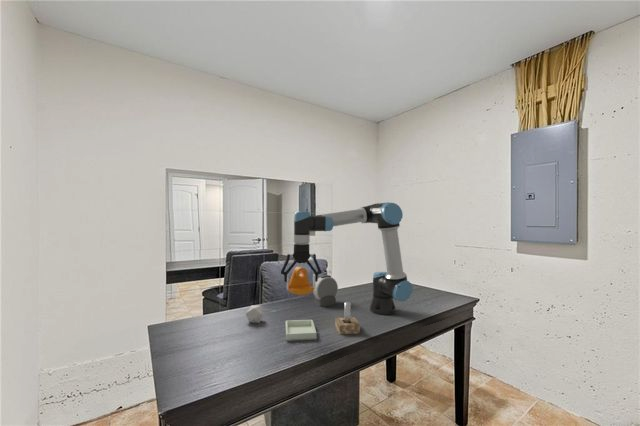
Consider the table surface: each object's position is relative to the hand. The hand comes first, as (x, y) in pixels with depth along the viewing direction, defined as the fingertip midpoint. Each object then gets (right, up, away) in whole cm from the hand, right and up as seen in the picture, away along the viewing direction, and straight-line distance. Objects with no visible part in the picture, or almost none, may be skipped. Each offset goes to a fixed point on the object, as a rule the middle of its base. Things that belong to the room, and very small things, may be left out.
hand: (300, 288), depth 131 cm
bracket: (0, -2, 0) cm, 2 cm away
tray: (0, -21, 0) cm, 21 cm away
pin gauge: (+23, -21, +4) cm, 32 cm away
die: (-25, -21, +13) cm, 35 cm away
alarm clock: (+13, -22, +45) cm, 52 cm away
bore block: (+23, -21, +4) cm, 32 cm away
